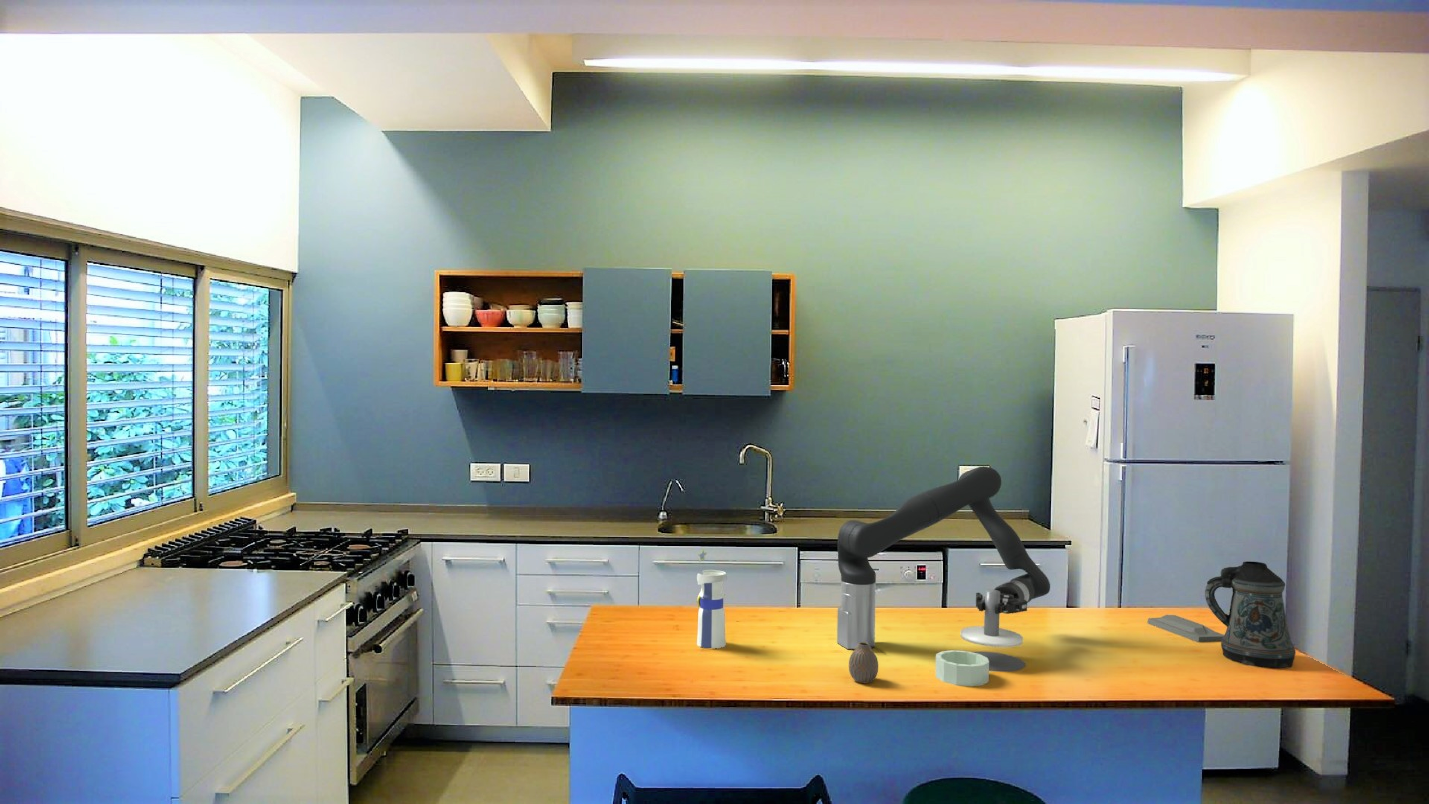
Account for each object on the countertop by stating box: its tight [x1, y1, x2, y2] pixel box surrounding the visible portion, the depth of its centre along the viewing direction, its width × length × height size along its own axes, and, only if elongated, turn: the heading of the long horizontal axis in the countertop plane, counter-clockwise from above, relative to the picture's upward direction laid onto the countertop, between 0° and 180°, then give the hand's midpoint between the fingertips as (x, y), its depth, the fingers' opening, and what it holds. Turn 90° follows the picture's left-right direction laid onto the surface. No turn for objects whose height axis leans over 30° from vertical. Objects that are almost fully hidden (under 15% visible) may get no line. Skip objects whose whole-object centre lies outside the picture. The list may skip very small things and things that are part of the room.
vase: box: [848, 642, 879, 684], centre depth 205 cm, size 7×7×9 cm
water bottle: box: [696, 549, 728, 650], centre depth 231 cm, size 8×8×25 cm
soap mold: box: [1146, 614, 1225, 643], centre depth 251 cm, size 10×20×4 cm, turn 13°
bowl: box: [935, 649, 990, 687], centre depth 207 cm, size 12×12×5 cm
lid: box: [960, 589, 1024, 648], centre depth 219 cm, size 15×15×12 cm
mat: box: [972, 651, 1026, 673], centre depth 219 cm, size 16×16×1 cm
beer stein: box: [1204, 561, 1297, 670], centre depth 225 cm, size 16×19×25 cm
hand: (988, 608), depth 217 cm, fingers closed on lid, 3 cm apart
